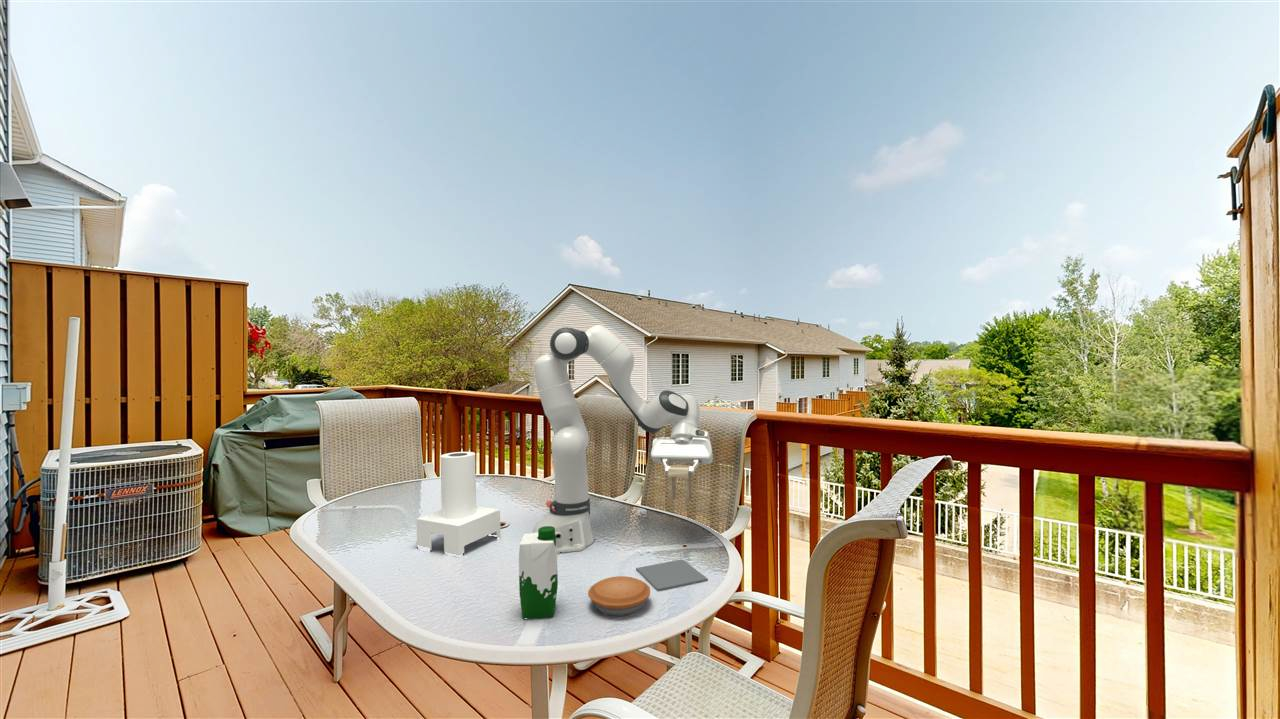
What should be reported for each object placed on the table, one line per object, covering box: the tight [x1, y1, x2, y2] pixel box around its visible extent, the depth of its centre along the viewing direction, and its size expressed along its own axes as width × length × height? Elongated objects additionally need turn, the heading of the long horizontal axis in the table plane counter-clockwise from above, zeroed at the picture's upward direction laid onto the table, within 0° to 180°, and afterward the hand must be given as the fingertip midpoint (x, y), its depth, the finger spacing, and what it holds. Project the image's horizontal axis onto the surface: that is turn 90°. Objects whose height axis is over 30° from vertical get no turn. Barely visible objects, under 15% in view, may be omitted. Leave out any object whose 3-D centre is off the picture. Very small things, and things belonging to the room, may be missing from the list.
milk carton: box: [518, 526, 559, 619], centre depth 124 cm, size 9×9×20 cm
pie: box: [587, 575, 651, 617], centre depth 127 cm, size 16×16×5 cm
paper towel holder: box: [416, 451, 502, 555], centre depth 172 cm, size 19×19×30 cm
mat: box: [635, 559, 709, 592], centre depth 144 cm, size 15×15×1 cm
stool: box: [667, 464, 693, 505], centre depth 163 cm, size 6×6×11 cm
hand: (679, 473), depth 162 cm, fingers closed on stool, 6 cm apart
